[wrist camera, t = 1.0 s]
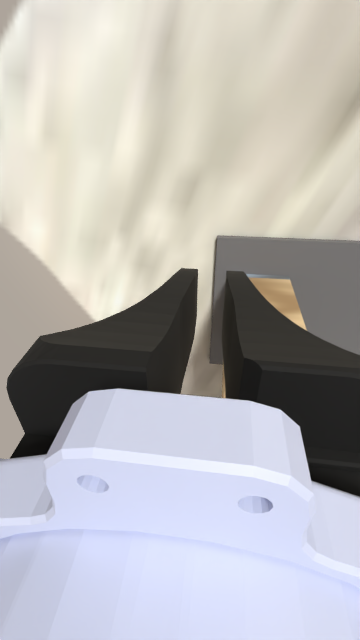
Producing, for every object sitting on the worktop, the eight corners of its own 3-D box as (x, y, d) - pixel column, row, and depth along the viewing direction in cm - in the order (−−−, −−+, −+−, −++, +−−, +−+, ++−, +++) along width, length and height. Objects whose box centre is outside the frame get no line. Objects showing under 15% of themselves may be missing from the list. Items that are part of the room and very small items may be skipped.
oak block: (288, 276, 22) (314, 352, 15) (274, 344, 25) (290, 430, 19) (229, 273, 22) (229, 345, 16) (223, 340, 26) (221, 423, 19)
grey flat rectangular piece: (463, 245, 20) (467, 247, 19) (395, 375, 26) (398, 378, 26) (217, 235, 21) (217, 237, 21) (209, 360, 27) (209, 363, 27)
